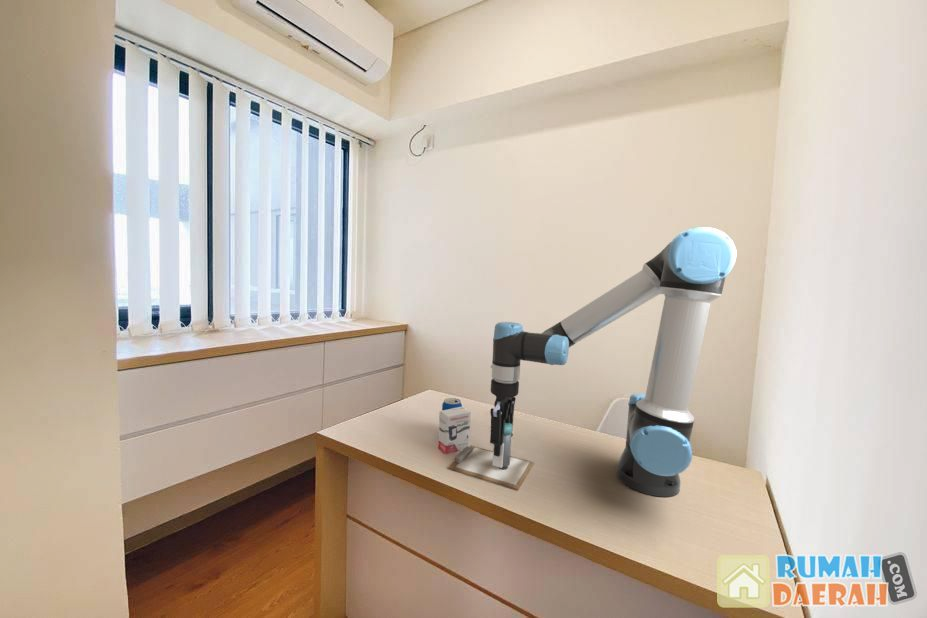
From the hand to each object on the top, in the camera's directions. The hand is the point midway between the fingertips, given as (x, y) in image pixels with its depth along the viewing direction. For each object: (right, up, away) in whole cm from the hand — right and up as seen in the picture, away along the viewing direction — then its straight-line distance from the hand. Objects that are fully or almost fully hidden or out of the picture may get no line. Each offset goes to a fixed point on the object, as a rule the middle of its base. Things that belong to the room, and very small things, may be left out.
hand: (500, 462), depth 97 cm
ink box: (-13, -1, +11) cm, 17 cm away
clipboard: (-2, -2, +1) cm, 3 cm away
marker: (+1, -1, 0) cm, 1 cm away
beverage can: (-14, 0, +20) cm, 24 cm away
